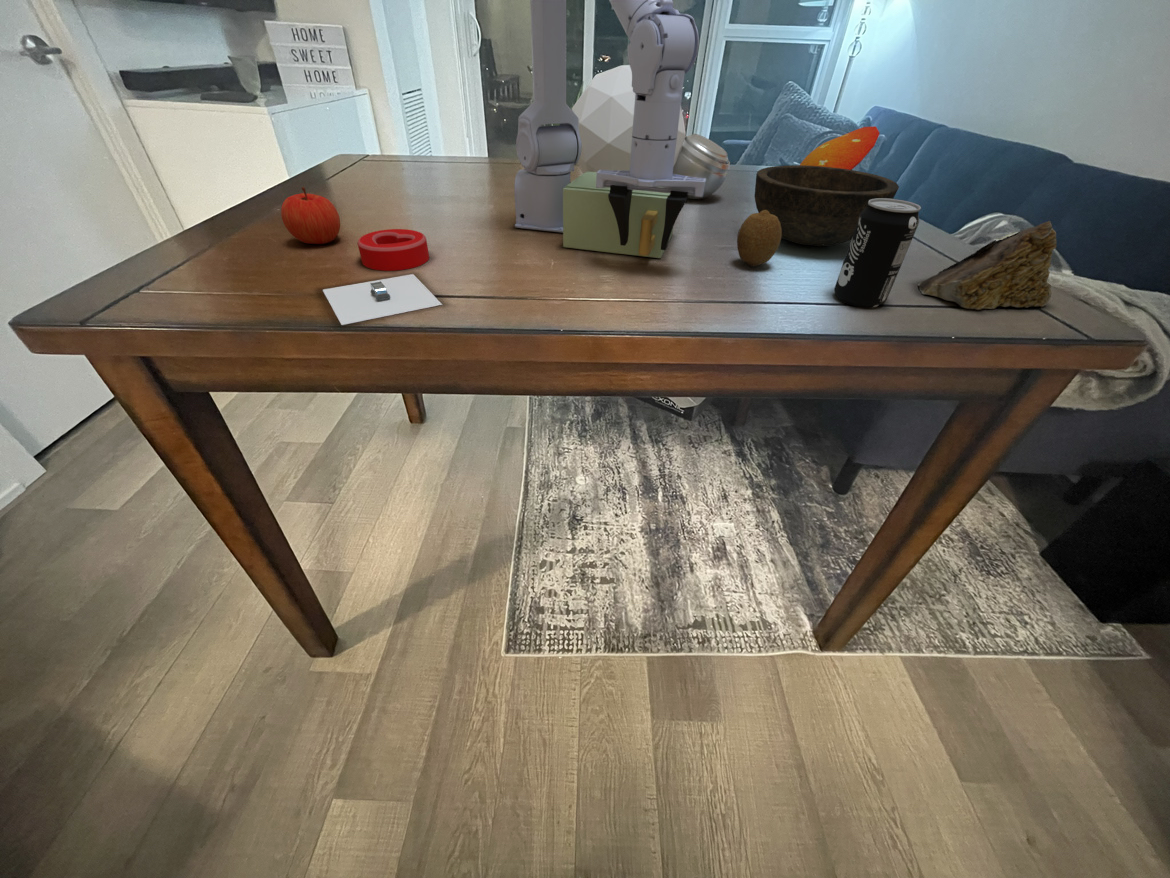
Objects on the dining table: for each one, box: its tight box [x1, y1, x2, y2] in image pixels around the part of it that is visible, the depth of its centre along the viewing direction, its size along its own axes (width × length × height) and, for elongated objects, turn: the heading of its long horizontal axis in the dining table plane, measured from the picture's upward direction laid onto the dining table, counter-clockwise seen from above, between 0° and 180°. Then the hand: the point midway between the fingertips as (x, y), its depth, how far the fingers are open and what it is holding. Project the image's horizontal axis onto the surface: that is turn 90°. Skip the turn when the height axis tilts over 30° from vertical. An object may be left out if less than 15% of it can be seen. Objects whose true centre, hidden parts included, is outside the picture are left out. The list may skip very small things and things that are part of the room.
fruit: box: [736, 210, 782, 267], centre depth 75 cm, size 6×6×8 cm
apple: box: [280, 186, 341, 245], centre depth 78 cm, size 8×8×8 cm
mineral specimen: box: [917, 220, 1058, 310], centre depth 69 cm, size 12×13×15 cm
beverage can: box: [833, 198, 922, 309], centre depth 64 cm, size 7×7×12 cm
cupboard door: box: [562, 187, 667, 259], centre depth 75 cm, size 6×16×9 cm, turn 74°
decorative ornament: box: [357, 228, 430, 272], centre depth 74 cm, size 10×10×3 cm
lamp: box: [571, 64, 731, 200], centre depth 104 cm, size 23×35×24 cm, turn 86°
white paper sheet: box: [322, 273, 443, 326], centre depth 64 cm, size 12×12×2 cm
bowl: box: [753, 164, 900, 247], centre depth 84 cm, size 22×22×10 cm
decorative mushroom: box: [799, 126, 880, 170], centre depth 102 cm, size 15×21×15 cm
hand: (643, 245), depth 72 cm, fingers open, 5 cm apart
